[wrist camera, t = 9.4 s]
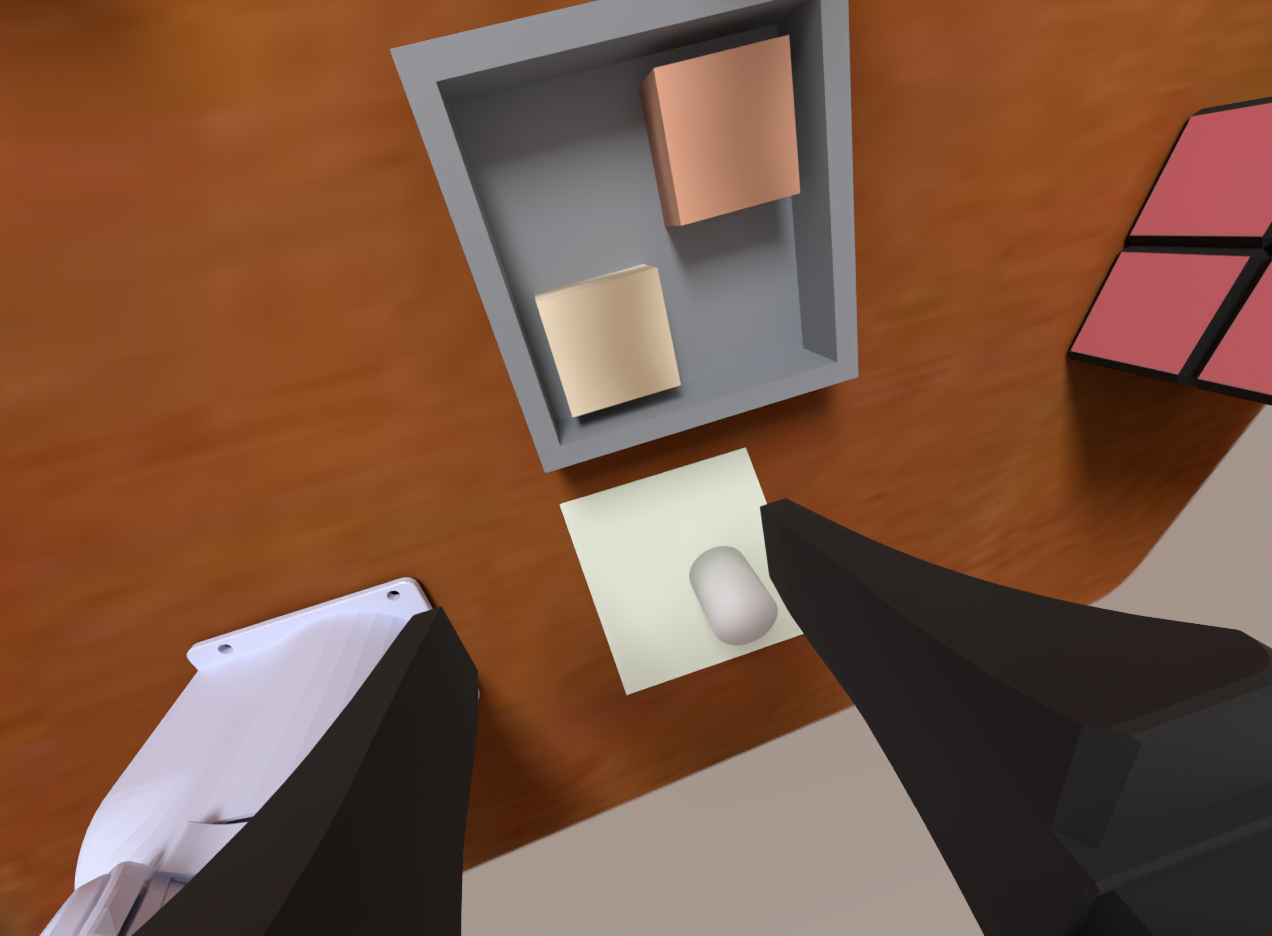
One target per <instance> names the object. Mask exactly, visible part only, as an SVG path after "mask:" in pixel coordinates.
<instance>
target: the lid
mask: <svg viewBox="0 0 1272 936" xmlns="http://www.w3.org/2000/svg"><path fill="white" fill-rule="evenodd" d="M766 504H767V503H766V500H765V498H764V495H763V492H762V490H761V487H760V484H759V482H758V479H757V476H756V474H755V471H754V468H753V466H752V463H751V460H750V458H749V455H748V452H747V450H746V448H742V449H739V450H736V451H733V452H729V453H726V454H723V455H719V456H716V457H713V458H710V459H706V460H703V461H700V462H696V463H693V464H690V465H687V466H683V467H680V468H677V469H674V470H670V471H667V472H664V473H660V474H657V475H654V476H651V477H647V478H644V479H641V480H637V481H634V482H631V483H628V484H624V485H621V486H618V487H615V488H611V489H608V490H605V491H601V492H598V493H595V494H592V495H588V496H585V497H582V498H578V499H575V500H572V501H569V502H565V503H562V504H560V507H561V510H562V513H563V515H564V518H565V521H566V524H567V527H568V530H569V532H570V535H571V538H572V541H573V544H574V547H575V550H576V552H577V555H578V558H579V561H580V564H581V567H582V569H583V572H584V575H585V578H586V581H587V584H588V586H589V589H590V592H591V595H592V598H593V601H594V603H595V606H596V609H597V612H598V615H599V618H600V620H601V623H602V626H603V629H604V632H605V635H606V637H607V640H608V643H609V646H610V649H611V652H612V655H613V657H614V660H615V663H616V666H617V669H618V672H619V674H620V677H621V680H622V683H623V686H624V689H625V691H626V694H627V695H628V694H631V693H634V692H637V691H640V690H643V689H646V688H648V687H651V686H654V685H657V684H660V683H663V682H666V681H669V680H672V679H674V678H677V677H680V676H683V675H686V674H689V673H692V672H695V671H698V670H700V669H703V668H706V667H709V666H712V665H715V664H718V663H721V662H724V661H726V660H729V659H732V658H735V657H738V656H741V655H744V654H747V653H750V652H752V651H755V650H758V649H761V648H764V647H767V646H770V645H773V644H776V643H778V642H781V641H784V640H787V639H790V638H793V637H796V636H799V635H802V634H804V633H803V632H802V631H801V629H800V628H799V626H798V625H797V624H796V622H795V621H794V619H793V618H792V616H791V615H790V613H789V612H788V610H787V608H786V606H785V605H784V603H783V601H782V599H781V597H780V596H779V594H778V592H777V590H776V588H775V586H774V584H773V583H772V581H771V579H770V577H769V571H768V564H767V557H766V549H765V542H764V535H763V528H762V520H761V513H760V506H763V505H766Z"/></svg>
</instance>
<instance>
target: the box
mask: <svg viewBox="0 0 1272 936" xmlns="http://www.w3.org/2000/svg"><path fill="white" fill-rule="evenodd" d="M786 35H789V40H790V54H791V68H792V83H793V97H794V111H795V125H796V139H797V153H798V167H799V182H800V193H799V194H795V195H792V196H788V197H784V198H781V199H777V200H774V201H770V202H766V203H763V204H759V205H755V206H752V207H748V208H744V209H741V210H737V211H733V212H730V213H726V214H722V215H719V216H715V217H711V218H708V219H704V220H700V221H697V222H693V223H690V224H686V225H682V226H665V225H664V219H663V214H662V209H661V203H660V198H659V193H658V187H657V182H656V177H655V172H654V166H653V161H652V156H651V150H650V145H649V140H648V134H647V129H646V124H645V118H644V113H643V108H642V102H641V97H640V92H639V86H640V84H641V83H642V82H643V81H644V79H645V78H646V77H647V76H648V74H649V73H650V72H651V71H652V70H653V68H656V67H660V66H664V65H668V64H673V63H677V62H681V61H685V60H689V59H693V58H697V57H701V56H705V55H709V54H713V53H717V52H721V51H725V50H729V49H733V48H737V47H741V46H745V45H749V44H754V43H758V42H762V41H766V40H770V39H774V38H778V37H782V36H786ZM390 51H391V54H392V57H393V60H394V62H395V65H396V68H397V70H398V73H399V76H400V79H401V81H402V84H403V87H404V90H405V92H406V95H407V98H408V100H409V103H410V106H411V109H412V111H413V114H414V117H415V119H416V122H417V125H418V128H419V130H420V133H421V136H422V139H423V141H424V144H425V147H426V149H427V152H428V155H429V158H430V160H431V163H432V166H433V169H434V171H435V174H436V177H437V179H438V182H439V185H440V188H441V190H442V193H443V196H444V199H445V201H446V204H447V207H448V209H449V212H450V215H451V218H452V220H453V223H454V226H455V229H456V231H457V234H458V237H459V239H460V242H461V245H462V248H463V250H464V253H465V256H466V258H467V261H468V264H469V267H470V269H471V272H472V275H473V278H474V280H475V283H476V286H477V288H478V291H479V294H480V297H481V299H482V302H483V305H484V308H485V310H486V313H487V316H488V318H489V321H490V324H491V327H492V329H493V332H494V335H495V338H496V340H497V343H498V346H499V348H500V351H501V354H502V357H503V359H504V362H505V365H506V368H507V370H508V373H509V376H510V378H511V381H512V384H513V387H514V389H515V392H516V395H517V397H518V400H519V403H520V406H521V408H522V411H523V414H524V417H525V419H526V422H527V425H528V427H529V430H530V433H531V436H532V438H533V441H534V444H535V447H536V449H537V452H538V455H539V457H540V460H541V463H542V466H543V468H544V471H545V473H547V472H551V471H554V470H557V469H560V468H564V467H567V466H570V465H573V464H577V463H580V462H583V461H586V460H590V459H593V458H596V457H599V456H603V455H606V454H609V453H612V452H616V451H619V450H622V449H626V448H629V447H632V446H635V445H639V444H642V443H645V442H648V441H652V440H655V439H658V438H661V437H665V436H668V435H671V434H674V433H678V432H681V431H684V430H687V429H691V428H694V427H697V426H700V425H704V424H707V423H710V422H713V421H717V420H720V419H723V418H726V417H730V416H733V415H736V414H739V413H743V412H746V411H749V410H752V409H756V408H759V407H762V406H765V405H769V404H772V403H775V402H778V401H782V400H785V399H788V398H791V397H795V396H798V395H801V394H804V393H808V392H811V391H814V390H817V389H821V388H824V387H827V386H830V385H834V384H837V383H840V382H843V381H847V380H850V379H853V378H856V377H858V347H857V310H856V273H855V235H854V198H853V161H852V123H851V86H850V49H849V12H848V0H598V1H594V2H589V3H585V4H581V5H577V6H572V7H568V8H564V9H559V10H555V11H551V12H547V13H542V14H538V15H534V16H530V17H525V18H521V19H517V20H512V21H508V22H504V23H500V24H495V25H491V26H487V27H482V28H478V29H474V30H470V31H465V32H461V33H457V34H453V35H448V36H444V37H440V38H435V39H431V40H427V41H423V42H418V43H414V44H410V45H405V46H401V47H397V48H393V49H390ZM642 264H645V265H649V266H652V267H656V268H657V269H658V274H659V278H660V283H661V288H662V293H663V298H664V303H665V308H666V313H667V318H668V323H669V328H670V333H671V338H672V343H673V348H674V353H675V358H676V363H677V368H678V373H679V378H680V383H681V385H680V386H676V387H673V388H670V389H666V390H663V391H660V392H656V393H653V394H650V395H646V396H643V397H640V398H636V399H633V400H630V401H626V402H623V403H620V404H616V405H613V406H610V407H606V408H603V409H600V410H596V411H593V412H590V413H586V414H583V415H580V416H576V417H572V414H571V411H570V407H569V404H568V401H567V398H566V395H565V392H564V389H563V386H562V382H561V379H560V376H559V373H558V370H557V367H556V364H555V360H554V357H553V354H552V351H551V348H550V345H549V342H548V338H547V335H546V332H545V329H544V326H543V323H542V320H541V316H540V313H539V310H538V307H537V304H536V300H535V294H538V293H542V292H545V291H549V290H553V289H556V288H560V287H563V286H567V285H571V284H574V283H578V282H581V281H585V280H589V279H592V278H596V277H599V276H603V275H606V274H610V273H614V272H617V271H621V270H624V269H628V268H632V267H635V266H639V265H642Z"/></svg>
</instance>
